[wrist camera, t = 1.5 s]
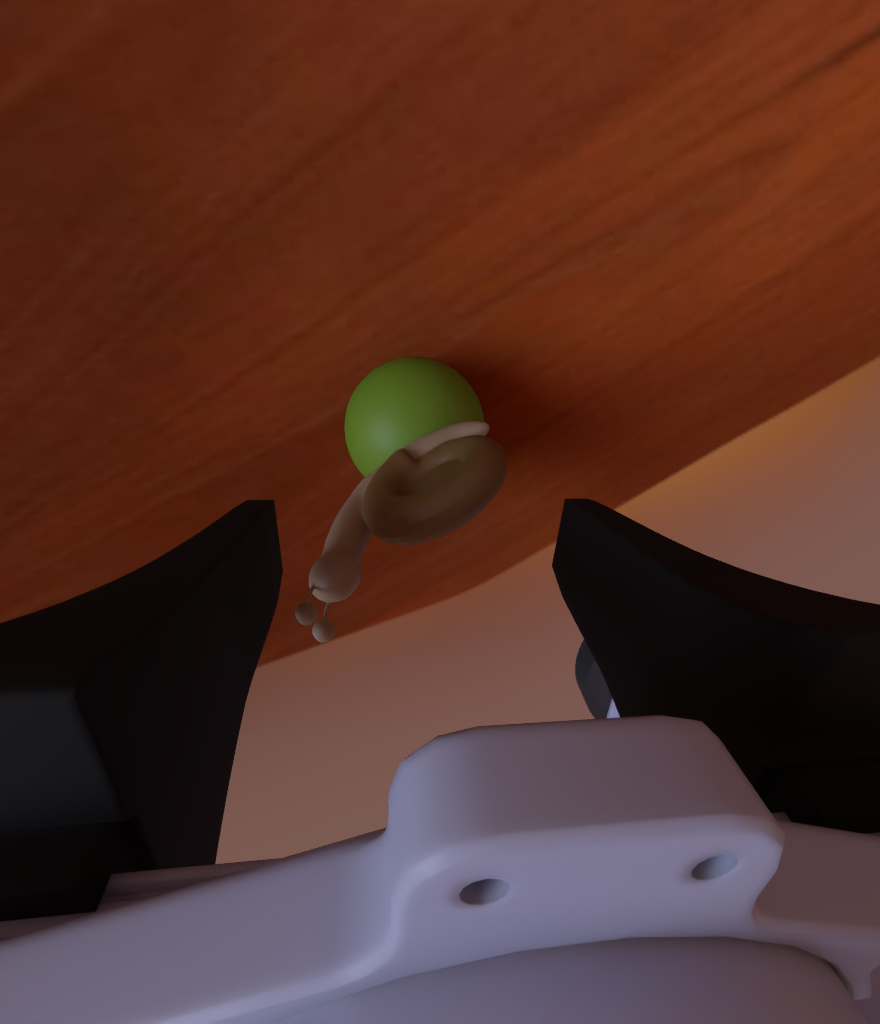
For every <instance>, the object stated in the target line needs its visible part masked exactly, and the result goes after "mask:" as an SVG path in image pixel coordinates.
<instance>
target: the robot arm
mask: <svg viewBox="0 0 880 1024" xmlns="http://www.w3.org/2000/svg"><path fill="white" fill-rule="evenodd" d="M552 567H553V570H554V573H555V576H556V579H557V582H558V585H559V588H560V591H561V594H562V596H563V599H564V601H565V603H566V604H567V607H568V609H569V610H570V612H571V614H572V616H573V618H574V620H575V622H576V624H577V626H578V628H579V630H580V632H581V634H582V635H583V637H584V639H585V641H586V643H587V645H588V647H589V649H590V651H591V652H592V654H593V656H594V658H595V660H596V662H597V664H598V666H599V668H600V670H601V672H602V674H603V676H604V679H605V681H606V683H607V685H608V688H609V691H610V693H611V696H612V700H611V704H610V707H609V710H608V714H607V717H606V718H603V719H588V720H571V721H556V722H539V723H524V724H508V725H492V726H477V727H473V728H469V729H465V730H461V731H456V732H452V733H448V734H444V735H439V736H437V737H435V738H434V739H432V740H431V741H430V742H428V743H427V744H425V745H424V746H423V747H421V748H420V749H418V750H417V751H415V752H414V753H412V754H411V755H409V756H408V757H407V758H405V759H404V760H403V761H402V762H401V763H400V766H399V768H398V770H397V772H396V774H395V777H394V779H393V781H392V784H391V786H390V788H389V818H388V823H387V827H386V828H384V829H380V830H377V831H373V832H370V833H366V834H363V835H359V836H356V837H353V838H349V839H346V840H343V841H339V842H336V843H332V844H329V845H326V846H322V847H318V848H315V849H312V850H309V851H305V852H302V853H298V854H295V855H291V856H288V857H284V858H278V859H268V860H257V861H246V862H235V863H224V864H215V861H216V855H217V848H218V842H219V836H220V831H221V825H222V819H223V813H224V808H225V802H226V797H227V791H228V786H229V780H230V775H231V770H232V765H233V760H234V755H235V750H236V744H237V740H238V735H239V730H240V726H241V721H242V716H243V712H244V707H245V702H246V699H247V695H248V692H249V688H250V685H251V681H252V678H253V675H254V672H255V669H256V666H257V663H258V661H259V658H260V655H261V652H262V649H263V646H264V643H265V640H266V637H267V634H268V631H269V628H270V625H271V622H272V619H273V616H274V612H275V609H276V606H277V601H278V596H279V591H280V585H281V579H282V573H283V569H282V561H281V553H280V544H279V536H278V528H277V520H276V512H275V504H274V500H247V501H245V502H243V503H241V504H240V505H238V506H237V507H235V508H234V509H232V510H231V511H229V512H228V513H227V514H225V515H224V516H222V517H221V518H219V519H218V520H217V521H215V522H214V523H212V524H211V525H209V526H208V527H206V528H205V529H204V530H202V531H201V532H199V533H198V534H196V535H195V536H193V537H192V538H190V539H188V540H187V541H185V542H184V543H182V544H180V545H179V546H177V547H175V548H174V549H172V550H171V551H169V552H167V553H166V554H164V555H162V556H161V557H159V558H157V559H156V560H154V561H152V562H150V563H148V564H146V565H145V566H143V567H141V568H139V569H137V570H135V571H133V572H131V573H129V574H127V575H125V576H123V577H121V578H119V579H117V580H114V581H112V582H110V583H108V584H105V585H103V586H101V587H98V588H96V589H93V590H91V591H89V592H86V593H84V594H81V595H79V596H76V597H74V598H72V599H69V600H67V601H64V602H62V603H59V604H56V605H54V606H51V607H48V608H45V609H42V610H40V611H37V612H34V613H31V614H28V615H25V616H22V617H19V618H16V619H13V620H10V621H6V622H3V623H0V1024H880V605H878V604H873V603H867V602H862V601H857V600H852V599H847V598H843V597H838V596H834V595H830V594H826V593H822V592H817V591H813V590H809V589H806V588H802V587H798V586H795V585H791V584H787V583H784V582H781V581H777V580H774V579H771V578H768V577H764V576H761V575H758V574H755V573H752V572H749V571H746V570H743V569H740V568H737V567H734V566H732V565H729V564H727V563H724V562H721V561H719V560H716V559H714V558H711V557H709V556H706V555H703V554H701V553H699V552H697V551H694V550H692V549H690V548H688V547H686V546H684V545H681V544H679V543H677V542H675V541H673V540H671V539H669V538H667V537H665V536H663V535H661V534H659V533H656V532H654V531H653V530H651V529H649V528H647V527H645V526H643V525H641V524H639V523H637V522H635V521H633V520H632V519H630V518H628V517H626V516H624V515H622V514H620V513H618V512H616V511H614V510H613V509H611V508H608V507H606V506H604V505H602V504H600V503H598V502H595V501H593V500H590V499H565V502H564V507H563V512H562V517H561V522H560V528H559V533H558V538H557V543H556V548H555V553H554V558H553V563H552Z"/></svg>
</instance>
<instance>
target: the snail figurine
mask: <svg viewBox="0 0 880 1024" xmlns="http://www.w3.org/2000/svg"><path fill="white" fill-rule="evenodd" d="M488 431H489V425H488V424H487V423H485V422H484V416H483V411H482V407H481V404H480V402H479V399H478V397H477V395H476V393H475V392H474V390H473V388H472V387H471V386H470V384H469V383H468V382H467V381H466V379H465V378H464V377H463V376H461V375H460V374H459V373H458V372H457V371H455V370H454V369H453V368H451V367H449V366H448V365H446V364H444V363H441V362H439V361H436V360H433V359H429V358H423V357H405V358H399V359H395V360H392V361H389V362H387V363H385V364H383V365H381V366H379V367H377V368H376V369H374V370H373V371H372V372H370V373H369V374H368V375H367V376H366V377H365V378H364V379H363V380H362V381H361V382H360V384H359V385H358V386H357V388H356V390H355V391H354V393H353V395H352V397H351V399H350V402H349V404H348V407H347V411H346V417H345V438H346V443H347V447H348V450H349V453H350V455H351V458H352V460H353V462H354V463H355V465H356V467H357V468H358V469H359V471H360V472H361V473H362V475H363V476H364V477H365V478H364V479H363V480H362V481H361V482H360V483H359V485H358V486H357V487H356V488H355V490H354V491H353V493H352V494H351V495H350V497H349V498H348V499H347V501H346V502H345V504H344V505H343V507H342V509H341V510H340V512H339V513H338V515H337V517H336V519H335V520H334V522H333V524H332V526H331V529H330V531H329V533H328V536H327V539H326V542H325V546H324V550H323V553H322V555H321V557H320V558H319V559H318V560H317V561H316V562H315V564H314V565H313V567H312V569H311V571H310V574H309V587H310V591H309V594H308V597H307V601H306V602H304V603H302V604H300V605H299V606H298V607H297V608H296V611H295V616H296V618H297V620H298V621H299V622H300V623H301V624H303V625H310V624H312V623H314V622H315V620H316V619H317V617H318V610H317V608H316V606H315V605H314V604H312V603H309V601H310V598H311V595H312V593H313V595H314V596H315V597H317V598H318V599H320V600H322V601H325V602H326V603H327V604H326V607H325V611H324V615H323V620H320V621H318V622H317V623H315V625H314V627H313V635H314V637H315V638H316V639H317V640H318V641H320V642H327V641H329V640H331V639H332V637H333V636H334V633H335V629H334V626H333V624H332V623H331V622H330V621H328V620H326V616H327V612H328V608H329V606H330V604H331V603H332V602H338V601H341V600H344V599H346V598H347V597H349V596H350V595H351V594H352V593H353V592H354V591H355V590H356V588H357V587H358V585H359V582H360V579H361V567H360V564H359V563H360V561H361V558H362V556H363V554H364V552H365V549H366V547H367V545H368V542H369V540H370V537H371V534H372V533H373V534H374V535H375V536H377V537H378V538H380V539H381V540H383V541H385V542H389V543H394V544H398V545H412V544H417V543H422V542H426V541H429V540H432V539H435V538H438V537H441V536H443V535H445V534H447V533H449V532H451V531H453V530H455V529H457V528H458V527H460V526H461V525H463V524H465V523H466V522H468V521H469V520H470V519H472V518H473V517H474V516H476V515H477V514H478V513H479V512H480V511H481V510H482V509H483V508H484V507H486V506H487V505H488V503H489V502H490V501H491V500H492V499H493V497H494V496H495V495H496V494H497V492H498V491H499V489H500V487H501V486H502V484H503V481H504V478H505V475H506V471H507V458H506V455H505V452H504V450H503V448H502V447H501V446H500V444H499V443H497V442H496V441H495V440H493V439H492V438H490V437H487V436H486V434H487V433H488Z"/></svg>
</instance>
